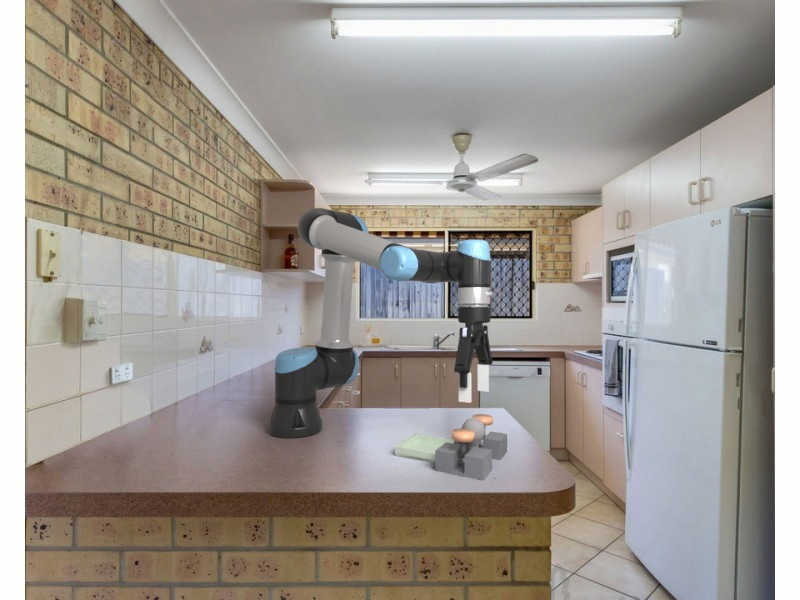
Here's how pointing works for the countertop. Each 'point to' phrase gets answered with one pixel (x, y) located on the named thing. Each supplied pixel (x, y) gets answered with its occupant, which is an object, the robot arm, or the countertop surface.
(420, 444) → the tray
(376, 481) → the countertop surface
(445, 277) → the robot arm
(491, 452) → the socket housing
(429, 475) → the countertop surface
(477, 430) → the light bulb
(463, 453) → the plunger
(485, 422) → the orange mushroom knob
